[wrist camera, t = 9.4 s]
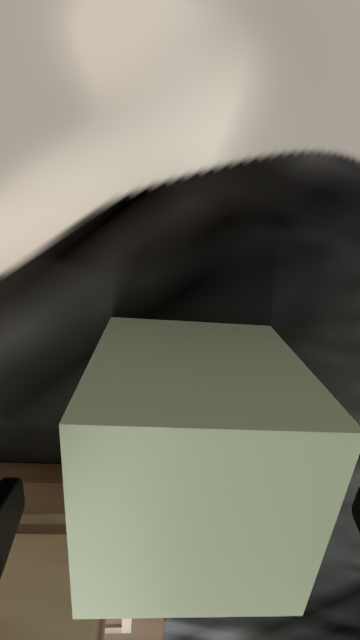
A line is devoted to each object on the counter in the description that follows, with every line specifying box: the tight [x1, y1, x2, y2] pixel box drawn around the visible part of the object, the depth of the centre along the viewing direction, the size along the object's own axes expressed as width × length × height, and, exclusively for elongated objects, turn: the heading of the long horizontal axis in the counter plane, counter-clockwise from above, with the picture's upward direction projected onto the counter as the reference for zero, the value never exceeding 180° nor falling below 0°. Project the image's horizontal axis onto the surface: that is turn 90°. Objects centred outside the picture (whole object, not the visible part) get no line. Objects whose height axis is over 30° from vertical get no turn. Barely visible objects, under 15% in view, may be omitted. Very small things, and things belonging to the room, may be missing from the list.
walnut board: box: [0, 462, 164, 640], centre depth 15 cm, size 12×12×1 cm
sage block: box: [59, 317, 360, 619], centre depth 10 cm, size 6×6×6 cm
